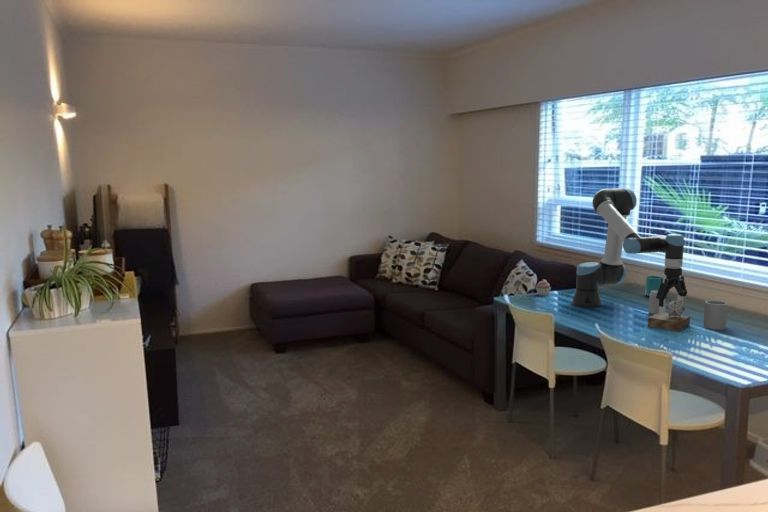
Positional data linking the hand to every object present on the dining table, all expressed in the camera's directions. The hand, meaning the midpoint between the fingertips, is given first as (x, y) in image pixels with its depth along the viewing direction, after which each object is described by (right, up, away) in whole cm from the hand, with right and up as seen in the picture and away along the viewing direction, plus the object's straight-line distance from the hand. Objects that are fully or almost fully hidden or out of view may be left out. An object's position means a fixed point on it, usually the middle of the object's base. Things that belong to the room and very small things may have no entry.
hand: (671, 311), depth 283 cm
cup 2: (+19, -8, -3) cm, 21 cm away
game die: (-1, -3, 0) cm, 3 cm away
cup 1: (+23, +3, +65) cm, 69 cm away
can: (+4, -4, +24) cm, 25 cm away
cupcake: (-42, +3, +72) cm, 83 cm away
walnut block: (-1, -8, +1) cm, 8 cm away
